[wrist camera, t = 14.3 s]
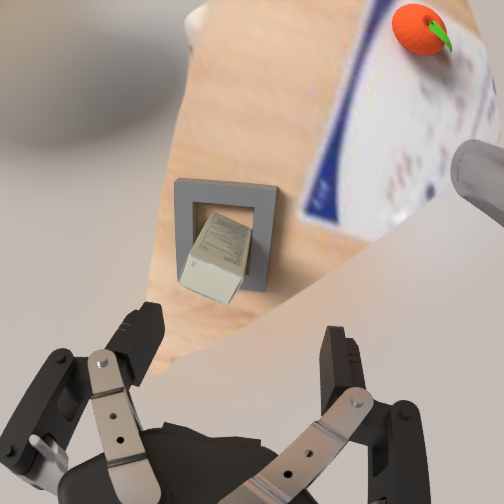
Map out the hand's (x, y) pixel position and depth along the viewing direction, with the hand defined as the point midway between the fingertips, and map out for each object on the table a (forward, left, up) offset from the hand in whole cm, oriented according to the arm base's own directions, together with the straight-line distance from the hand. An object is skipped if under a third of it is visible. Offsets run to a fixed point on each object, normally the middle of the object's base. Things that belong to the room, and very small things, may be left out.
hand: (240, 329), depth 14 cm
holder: (+5, +8, -27) cm, 28 cm away
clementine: (-17, -23, -27) cm, 39 cm away
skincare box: (+5, +8, -27) cm, 29 cm away
